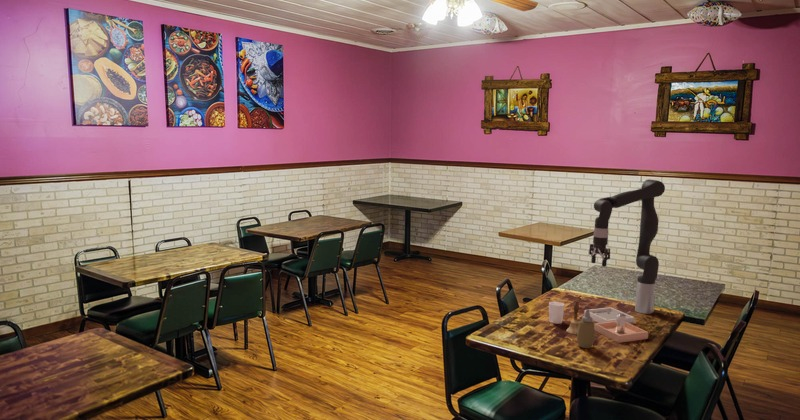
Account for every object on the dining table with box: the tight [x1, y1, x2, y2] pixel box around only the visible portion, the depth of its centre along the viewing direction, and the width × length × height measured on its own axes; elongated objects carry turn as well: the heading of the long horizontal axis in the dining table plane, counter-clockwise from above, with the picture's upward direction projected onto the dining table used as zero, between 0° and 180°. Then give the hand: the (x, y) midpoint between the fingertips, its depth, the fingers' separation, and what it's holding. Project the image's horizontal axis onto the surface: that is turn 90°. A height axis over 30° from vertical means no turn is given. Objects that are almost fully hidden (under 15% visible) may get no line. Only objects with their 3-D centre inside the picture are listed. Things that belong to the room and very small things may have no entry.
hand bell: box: [566, 300, 580, 335], centre depth 285 cm, size 8×8×16 cm
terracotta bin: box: [594, 321, 649, 344], centre depth 283 cm, size 18×18×4 cm
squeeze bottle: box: [576, 309, 596, 349], centre depth 265 cm, size 8×8×18 cm
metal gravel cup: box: [615, 314, 626, 334], centre depth 283 cm, size 4×4×9 cm
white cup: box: [548, 300, 565, 325], centre depth 300 cm, size 8×8×10 cm
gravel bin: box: [583, 306, 635, 325], centre depth 305 cm, size 18×18×4 cm
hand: (598, 264), depth 312 cm, fingers open, 8 cm apart
